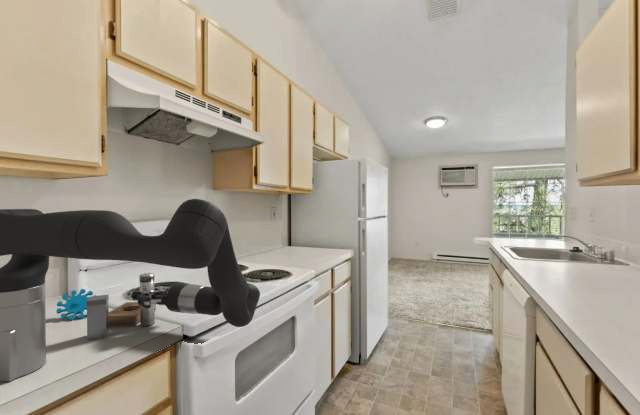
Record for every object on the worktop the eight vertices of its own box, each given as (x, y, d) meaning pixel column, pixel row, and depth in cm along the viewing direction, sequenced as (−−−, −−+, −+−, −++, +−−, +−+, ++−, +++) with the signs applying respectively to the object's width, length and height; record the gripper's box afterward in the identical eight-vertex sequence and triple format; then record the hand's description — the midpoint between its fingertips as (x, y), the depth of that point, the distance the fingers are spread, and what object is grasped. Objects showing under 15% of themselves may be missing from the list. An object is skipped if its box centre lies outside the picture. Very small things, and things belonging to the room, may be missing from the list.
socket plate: (134, 326, 86) (134, 315, 86) (101, 326, 86) (101, 316, 86) (155, 311, 98) (155, 301, 98) (126, 311, 98) (126, 302, 98)
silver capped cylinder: (151, 325, 86) (150, 275, 85) (137, 326, 85) (136, 276, 85) (157, 320, 89) (156, 272, 89) (144, 321, 89) (143, 273, 89)
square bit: (106, 337, 79) (106, 298, 79) (86, 340, 77) (86, 300, 77) (109, 331, 83) (108, 294, 83) (90, 334, 81) (89, 296, 81)
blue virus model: (49, 318, 88) (63, 287, 95) (53, 327, 92) (67, 296, 99) (94, 318, 92) (105, 288, 99) (97, 327, 96) (107, 297, 102)
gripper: (169, 321, 76) (116, 314, 81) (206, 304, 90) (159, 298, 95) (168, 291, 76) (116, 286, 81) (206, 278, 90) (159, 274, 95)
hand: (139, 293), depth 88 cm, fingers closed on silver capped cylinder, 3 cm apart
